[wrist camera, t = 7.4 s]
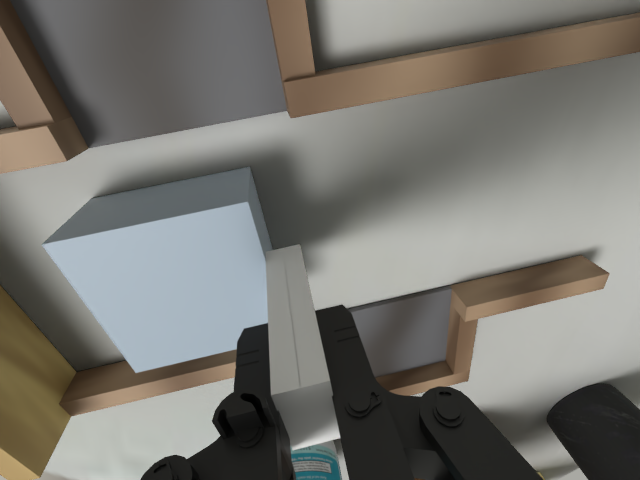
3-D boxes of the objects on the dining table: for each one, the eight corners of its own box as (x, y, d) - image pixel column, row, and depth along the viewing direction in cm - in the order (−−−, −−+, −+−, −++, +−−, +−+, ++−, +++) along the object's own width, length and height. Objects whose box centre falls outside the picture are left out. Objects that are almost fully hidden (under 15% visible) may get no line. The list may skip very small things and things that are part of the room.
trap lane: (758, -260, 10) (1108, -475, 6) (551, 340, 25) (611, 399, 21) (-407, -112, 8) (-1118, -283, 4) (121, 446, 23) (91, 536, 19)
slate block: (249, 165, 15) (247, 201, 11) (282, 283, 18) (288, 336, 15) (92, 197, 14) (41, 244, 11) (158, 311, 18) (135, 373, 15)
